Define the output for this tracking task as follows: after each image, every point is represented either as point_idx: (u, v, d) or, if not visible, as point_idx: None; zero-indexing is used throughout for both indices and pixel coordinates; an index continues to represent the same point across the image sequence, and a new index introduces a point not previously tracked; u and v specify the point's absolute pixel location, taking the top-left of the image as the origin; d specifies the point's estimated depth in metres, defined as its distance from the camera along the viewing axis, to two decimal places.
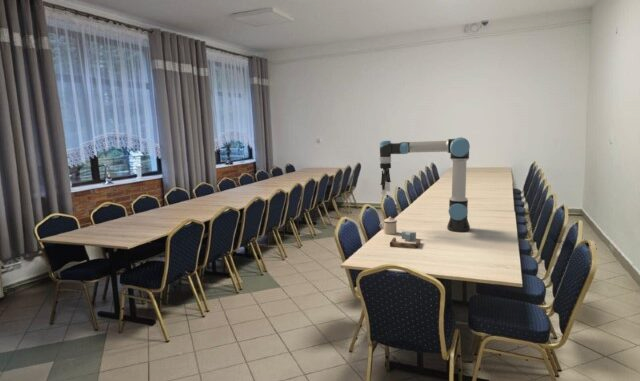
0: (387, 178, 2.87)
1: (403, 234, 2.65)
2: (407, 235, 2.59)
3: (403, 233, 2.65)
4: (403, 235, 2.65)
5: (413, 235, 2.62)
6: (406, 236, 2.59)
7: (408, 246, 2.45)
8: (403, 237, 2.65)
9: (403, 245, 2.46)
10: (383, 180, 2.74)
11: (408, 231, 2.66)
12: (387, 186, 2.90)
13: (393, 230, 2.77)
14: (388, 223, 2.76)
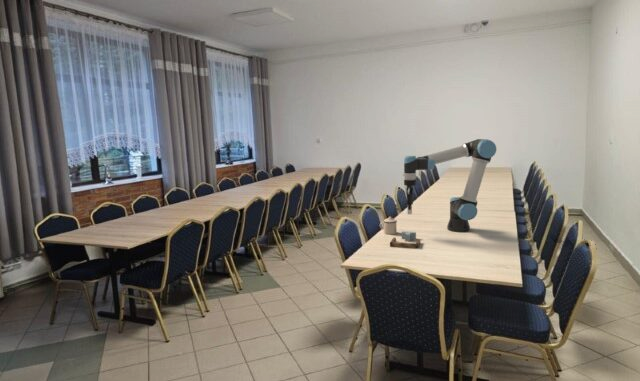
0: None
1: (403, 234, 2.65)
2: (407, 235, 2.59)
3: (403, 233, 2.65)
4: (403, 235, 2.65)
5: (413, 235, 2.62)
6: (406, 236, 2.59)
7: (408, 246, 2.45)
8: (403, 237, 2.65)
9: (403, 245, 2.46)
10: (409, 201, 2.64)
11: (408, 231, 2.66)
12: None
13: (393, 230, 2.77)
14: (388, 223, 2.76)
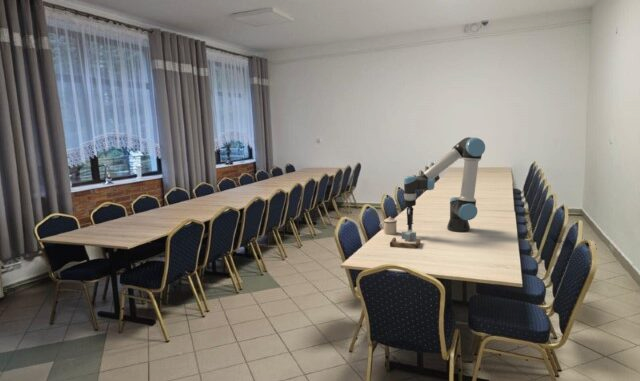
0: None
1: (403, 234, 2.65)
2: (407, 235, 2.59)
3: (403, 233, 2.65)
4: (403, 235, 2.65)
5: (413, 235, 2.62)
6: (406, 236, 2.59)
7: (408, 246, 2.45)
8: (403, 237, 2.65)
9: (403, 245, 2.46)
10: (409, 221, 2.65)
11: (408, 231, 2.66)
12: None
13: (393, 230, 2.77)
14: (388, 223, 2.76)
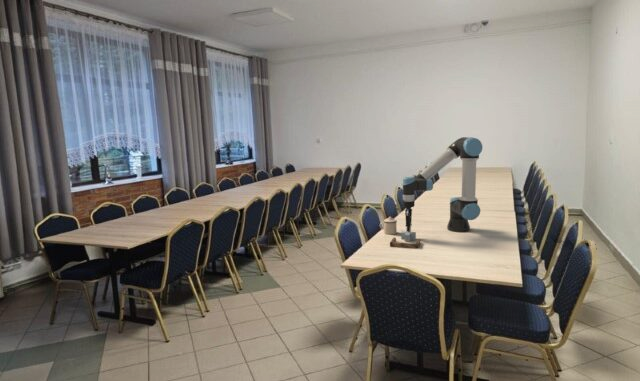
0: None
1: (403, 234, 2.64)
2: (407, 235, 2.58)
3: (403, 233, 2.64)
4: (403, 235, 2.64)
5: (413, 235, 2.61)
6: (406, 236, 2.58)
7: (408, 246, 2.45)
8: (403, 237, 2.64)
9: (403, 245, 2.46)
10: (408, 222, 2.61)
11: None
12: None
13: (393, 230, 2.77)
14: (388, 223, 2.76)
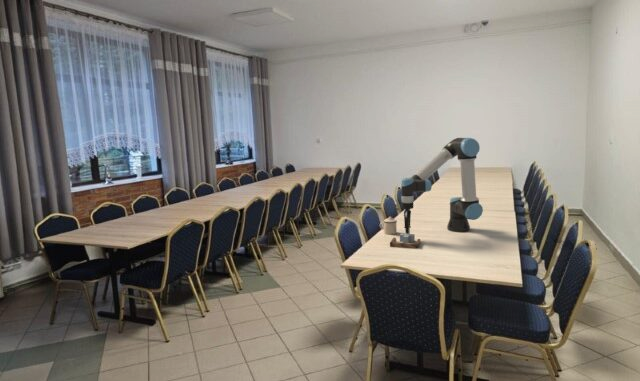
0: None
1: (401, 236, 2.59)
2: (405, 238, 2.53)
3: (401, 235, 2.59)
4: (401, 237, 2.59)
5: (411, 237, 2.57)
6: (404, 239, 2.53)
7: (408, 246, 2.45)
8: (401, 239, 2.59)
9: (403, 245, 2.46)
10: (407, 224, 2.56)
11: None
12: None
13: (393, 230, 2.77)
14: (388, 223, 2.76)
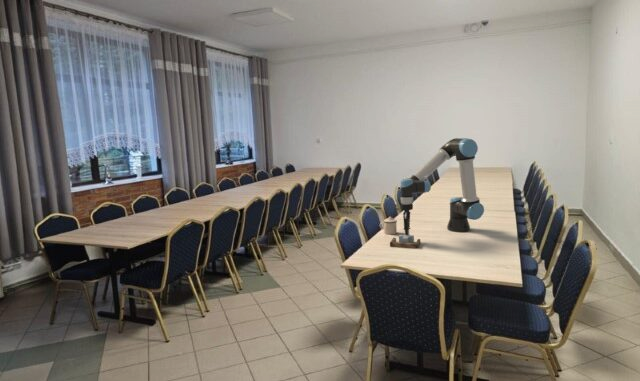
0: None
1: (400, 238, 2.56)
2: (404, 239, 2.50)
3: (400, 237, 2.56)
4: (400, 239, 2.56)
5: (411, 239, 2.53)
6: (403, 240, 2.50)
7: (408, 246, 2.45)
8: (400, 241, 2.56)
9: (403, 245, 2.46)
10: (406, 226, 2.53)
11: (406, 235, 2.57)
12: None
13: (393, 230, 2.77)
14: (388, 223, 2.76)
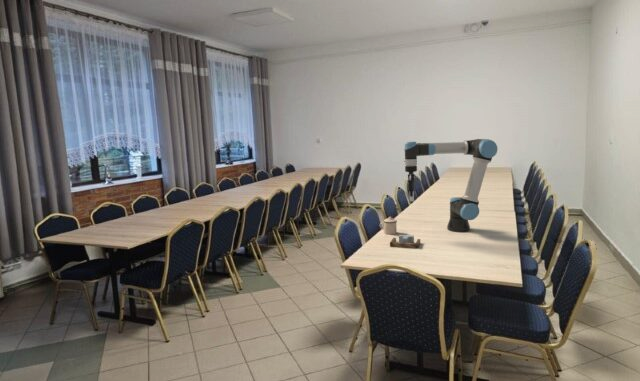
0: None
1: (400, 238, 2.56)
2: (404, 239, 2.50)
3: (400, 237, 2.56)
4: (400, 239, 2.56)
5: (411, 239, 2.53)
6: (403, 240, 2.50)
7: (408, 246, 2.45)
8: (400, 241, 2.56)
9: (403, 245, 2.46)
10: (411, 187, 2.59)
11: (406, 235, 2.57)
12: None
13: (393, 230, 2.77)
14: (388, 223, 2.76)
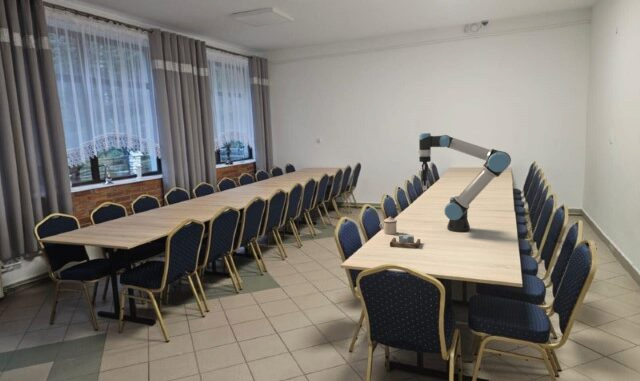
0: None
1: (400, 238, 2.56)
2: (404, 239, 2.50)
3: (400, 237, 2.56)
4: (400, 239, 2.56)
5: (411, 239, 2.53)
6: (403, 240, 2.50)
7: (408, 246, 2.45)
8: (400, 241, 2.56)
9: (403, 245, 2.46)
10: (424, 176, 2.72)
11: (406, 235, 2.57)
12: None
13: (393, 230, 2.77)
14: (388, 223, 2.76)
